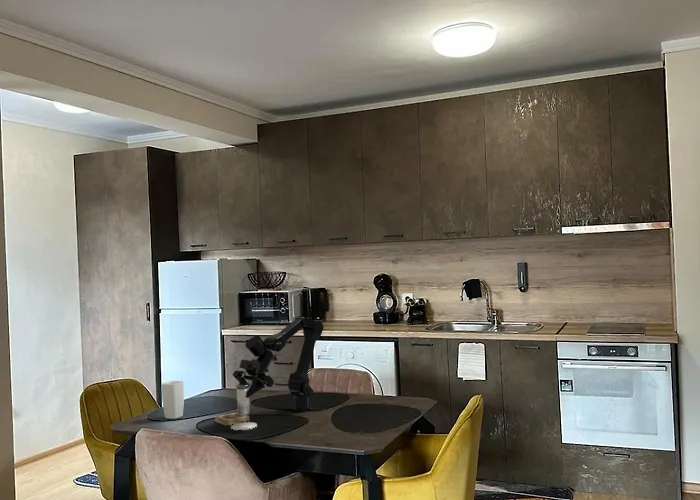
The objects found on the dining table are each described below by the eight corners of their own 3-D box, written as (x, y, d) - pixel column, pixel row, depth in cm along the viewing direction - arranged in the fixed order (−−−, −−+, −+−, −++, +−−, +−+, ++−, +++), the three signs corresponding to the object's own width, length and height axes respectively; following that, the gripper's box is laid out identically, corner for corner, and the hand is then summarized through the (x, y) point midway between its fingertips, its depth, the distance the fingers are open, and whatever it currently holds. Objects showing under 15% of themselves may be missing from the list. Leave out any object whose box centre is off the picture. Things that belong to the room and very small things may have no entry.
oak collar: (237, 417, 267) (237, 412, 267) (249, 421, 259) (249, 416, 259) (215, 421, 261) (215, 416, 261) (226, 425, 253) (226, 420, 253)
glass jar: (243, 411, 253) (242, 383, 253) (252, 412, 251) (251, 384, 251) (234, 414, 249) (233, 385, 249) (244, 415, 247) (243, 386, 247)
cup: (186, 416, 271) (185, 381, 272) (173, 420, 265) (172, 384, 265) (174, 415, 275) (172, 380, 275) (161, 419, 269) (159, 383, 269)
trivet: (249, 422, 257) (249, 421, 257) (261, 427, 249) (261, 425, 249) (226, 427, 251) (226, 425, 251) (238, 432, 243) (238, 430, 243)
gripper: (235, 350, 260) (214, 382, 251) (267, 352, 248) (246, 386, 240) (250, 366, 266) (231, 398, 257) (282, 369, 254) (263, 403, 246)
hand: (242, 396), depth 250 cm, fingers closed on glass jar, 5 cm apart
